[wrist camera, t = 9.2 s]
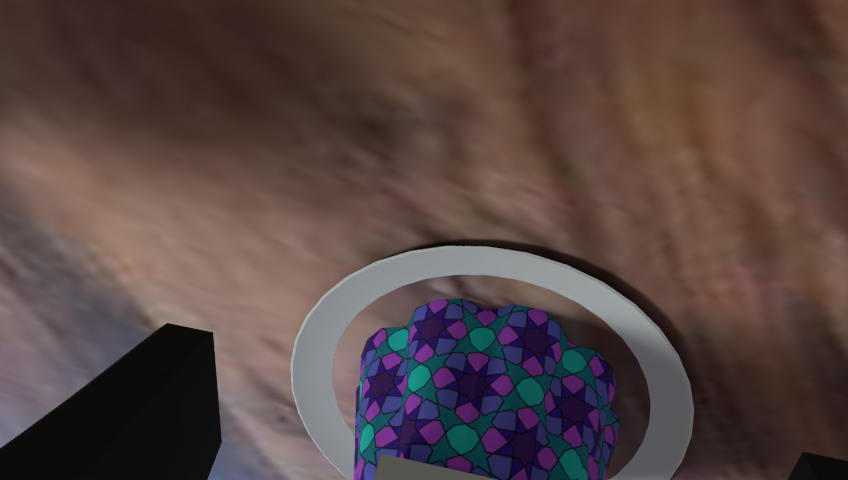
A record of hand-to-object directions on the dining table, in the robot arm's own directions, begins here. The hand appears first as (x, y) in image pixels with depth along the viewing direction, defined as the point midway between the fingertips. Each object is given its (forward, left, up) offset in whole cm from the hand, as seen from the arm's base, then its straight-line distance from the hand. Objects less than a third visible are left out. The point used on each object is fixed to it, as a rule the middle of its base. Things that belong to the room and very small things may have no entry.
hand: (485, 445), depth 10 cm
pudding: (0, -10, -11) cm, 15 cm away
